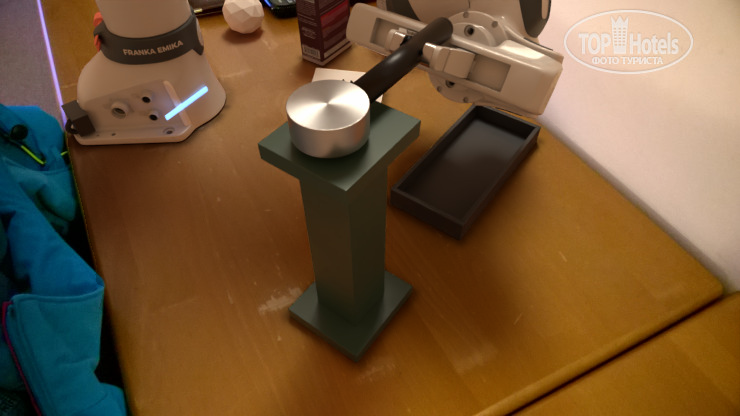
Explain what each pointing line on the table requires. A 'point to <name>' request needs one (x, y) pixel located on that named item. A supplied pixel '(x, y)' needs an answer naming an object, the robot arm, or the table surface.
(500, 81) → the robot arm
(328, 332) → the stand
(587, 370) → the table surface
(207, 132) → the table surface
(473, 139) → the tray
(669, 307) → the table surface
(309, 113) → the scoop
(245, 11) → the ornament
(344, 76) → the folded paper
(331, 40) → the supplement box
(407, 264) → the table surface
